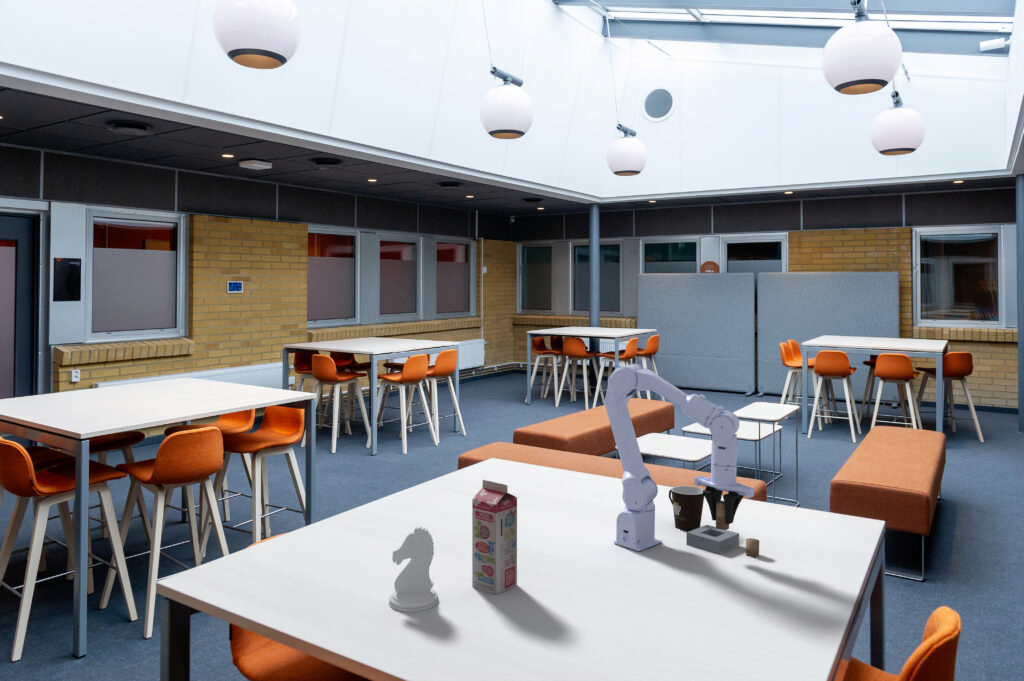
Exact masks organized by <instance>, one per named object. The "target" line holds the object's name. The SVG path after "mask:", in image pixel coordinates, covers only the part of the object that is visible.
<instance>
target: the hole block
mask: <svg viewBox="0 0 1024 681" xmlns="http://www.w3.org/2000/svg"><path fill="white" fill-rule="evenodd" d="M685 543H686V545H687V546H690V547H693V546H694V548H696V549H697V548H698V549H700V550H703V549H704V550H703V551H707V552H711V553H714V554H717V555H720V554H723V553H725V552H727V551H729V549H730V550H732V549H734V548H736V547H739V546H740V533H739V532H736V531H732V530H729V529H727V530H722V529H717V528H716V526H713V525H709V524H706V525H703V526H700V528H697V529H695V530H692V531H686V542H685ZM738 545H739V546H738Z"/></svg>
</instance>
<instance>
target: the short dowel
mask: <svg viewBox="0 0 1024 681" xmlns="http://www.w3.org/2000/svg"><path fill="white" fill-rule="evenodd" d="M745 556H747V557H749V556H751V557H750V558H758V557H757V556H760V540H759V539H757V538H752V537H749V538H746V540H745Z"/></svg>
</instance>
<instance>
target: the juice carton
mask: <svg viewBox="0 0 1024 681" xmlns="http://www.w3.org/2000/svg"><path fill="white" fill-rule="evenodd" d="M508 488H509V486H508V485H507V484H504V483H501V482H500V483H499V482H495V481H492V480H491V481H490V480H486V479H482V486H481V488H480V490H478V492H476V494H475V495H474V496H473V497H472V498H471V499H472V506H471V507H472V508H471V509H472V512H471V513H472V515H471V520H472V526H471V527H472V528H471V529H472V530H471V534H472V535H471V536H472V537H471V540H472V541H471V542H472V543H471V544H472V545H471V546H472V547H471V548H472V550H471V552H472V553H471V554H472V558H471V559H472V561H471V562H472V563H471V564H472V567H471V568H472V569H471V570H472V571H471V572H472V574H471V576H472V577H471V580H472V581H471V582H472V584H471V585H472V588H475V589H477V590H481V591H484V592H486V593H490V594H492V595H496V596H497V595H499V594H502V593H503V592H505V591H508V590H509V589H511V588H514V587H516V586H517V585H518V497H517V496H516V495H513V494H511V493H509V492H508Z"/></svg>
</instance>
